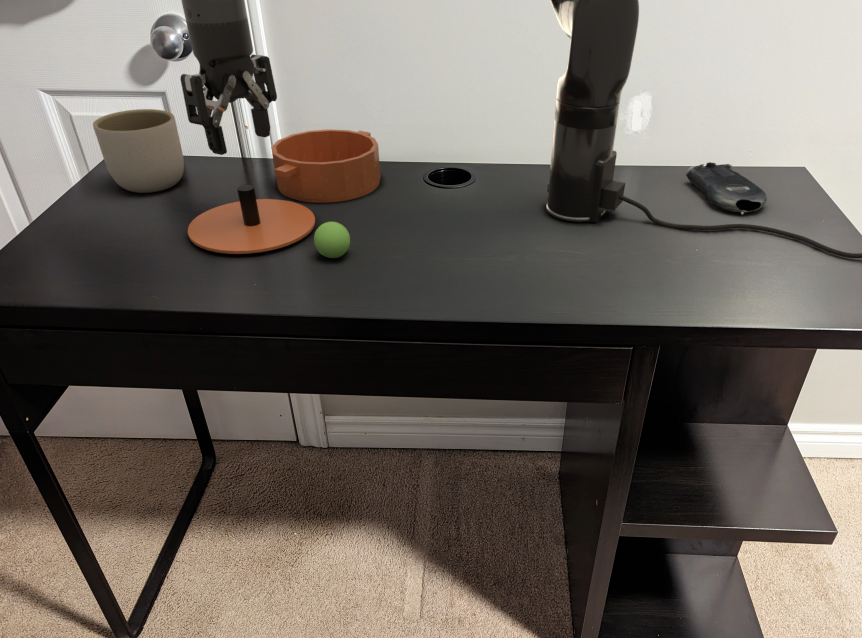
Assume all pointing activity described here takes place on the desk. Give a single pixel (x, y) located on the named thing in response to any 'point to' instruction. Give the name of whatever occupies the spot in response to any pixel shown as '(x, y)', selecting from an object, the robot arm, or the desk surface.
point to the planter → (141, 149)
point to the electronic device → (727, 187)
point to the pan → (326, 165)
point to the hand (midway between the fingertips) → (242, 144)
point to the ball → (332, 239)
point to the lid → (251, 224)
